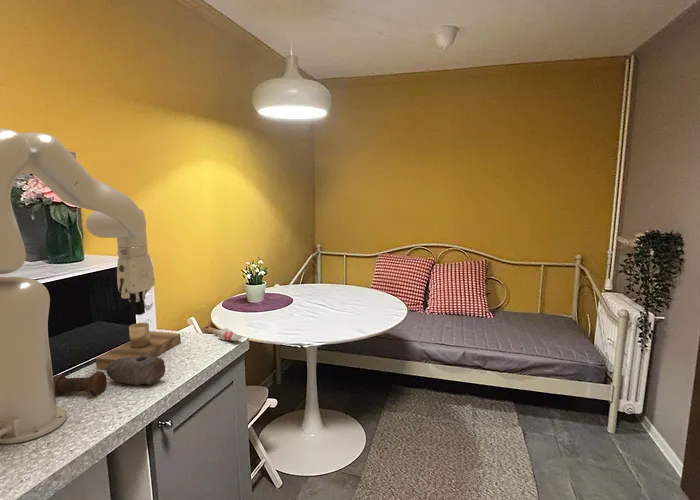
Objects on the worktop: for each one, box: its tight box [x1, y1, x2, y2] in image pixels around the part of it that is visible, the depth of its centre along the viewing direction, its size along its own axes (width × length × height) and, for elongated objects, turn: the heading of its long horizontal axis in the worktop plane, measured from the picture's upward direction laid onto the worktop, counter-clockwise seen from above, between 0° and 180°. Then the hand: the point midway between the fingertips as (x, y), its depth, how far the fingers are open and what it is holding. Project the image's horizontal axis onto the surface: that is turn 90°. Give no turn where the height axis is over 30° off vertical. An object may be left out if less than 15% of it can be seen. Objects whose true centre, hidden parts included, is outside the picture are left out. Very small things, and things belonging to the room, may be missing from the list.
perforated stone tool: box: [106, 356, 166, 386], centre depth 108 cm, size 15×5×7 cm, turn 81°
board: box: [95, 330, 182, 371], centre depth 126 cm, size 22×11×3 cm, turn 167°
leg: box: [128, 322, 150, 348], centre depth 125 cm, size 5×5×8 cm
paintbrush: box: [202, 325, 243, 342], centre depth 140 cm, size 4×3×20 cm
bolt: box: [53, 370, 108, 397], centre depth 102 cm, size 6×5×15 cm
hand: (138, 313), depth 124 cm, fingers closed
